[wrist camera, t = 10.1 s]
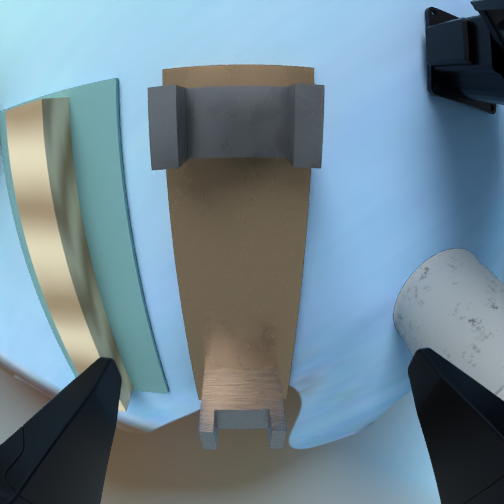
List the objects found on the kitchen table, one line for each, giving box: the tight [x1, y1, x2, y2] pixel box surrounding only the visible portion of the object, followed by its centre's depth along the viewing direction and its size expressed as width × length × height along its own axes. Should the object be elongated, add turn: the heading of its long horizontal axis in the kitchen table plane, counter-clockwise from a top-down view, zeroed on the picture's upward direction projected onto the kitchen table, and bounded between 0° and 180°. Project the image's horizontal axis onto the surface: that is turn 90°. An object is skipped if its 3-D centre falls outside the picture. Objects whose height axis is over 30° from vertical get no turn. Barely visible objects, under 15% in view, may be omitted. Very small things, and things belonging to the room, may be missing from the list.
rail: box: [6, 97, 133, 412], centre depth 18 cm, size 25×3×3 cm, turn 179°
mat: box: [0, 78, 169, 393], centre depth 20 cm, size 10×26×1 cm, turn 0°
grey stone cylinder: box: [393, 249, 504, 401], centre depth 17 cm, size 10×10×12 cm
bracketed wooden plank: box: [148, 65, 324, 450], centre depth 17 cm, size 26×8×7 cm, turn 0°
